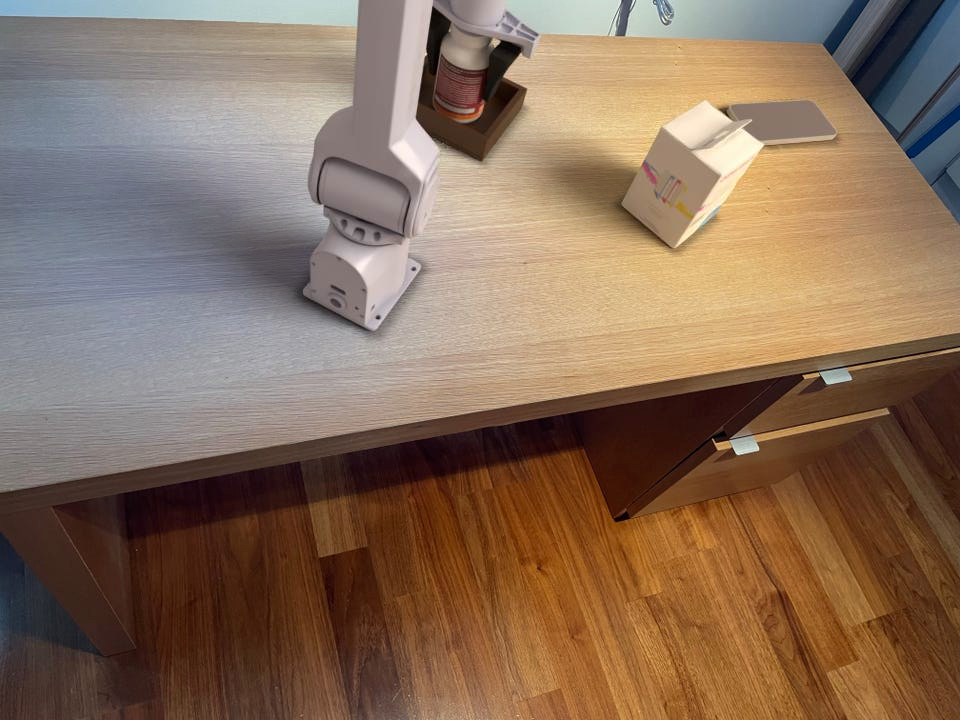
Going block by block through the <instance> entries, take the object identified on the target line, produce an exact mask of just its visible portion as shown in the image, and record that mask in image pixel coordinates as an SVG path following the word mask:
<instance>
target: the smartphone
mask: <svg viewBox="0 0 960 720" xmlns="http://www.w3.org/2000/svg"><path fill="white" fill-rule="evenodd" d="M726 113H727V115H728V118H729V119H731V120H732V121H733V122H735V121H741V120H746V119H752V121H751V122H749V123H748V124H747V125H745V126H744V127H742V129H744V130H745V131H746V132H748V133H749V134H750V135H752V136H753V137H754V138H756V139H757V140H759V141H760V142H761V143H763V144H764V146H772V145H773V146H774V145H786V144H797V143H798V144H799V143H809V142H820V141H832V140H834V138H835V137H836V136H837V134H838V131H837V129H836V127H835V126H834V125H833V124H832V122H831V121H830V120H829V118H827V116H826V114H824V112H823V111H822V110H821V108H820V107H819V106H818V105H817V104H816V102H815V101H813V100H811V99H793V100H791V99H790V100H775V101H773V100H772V101H761V102H760V101H759V102H758V101H757V102H741V103H740V102H739V103H731V104H730V105H729V107H728V108H727V109H726Z"/></svg>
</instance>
